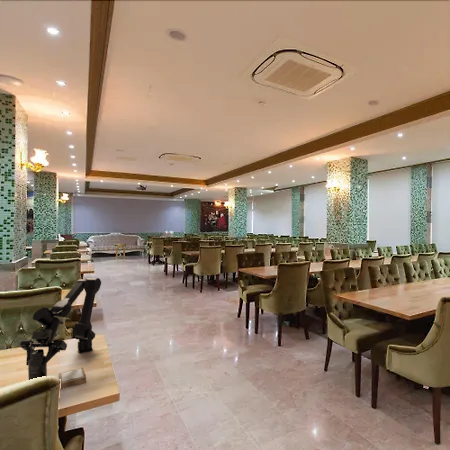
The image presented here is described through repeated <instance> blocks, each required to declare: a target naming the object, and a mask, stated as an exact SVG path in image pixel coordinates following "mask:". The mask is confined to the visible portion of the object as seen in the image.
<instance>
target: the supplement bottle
mask: <svg viewBox="0 0 450 450" xmlns="http://www.w3.org/2000/svg"><path fill="white" fill-rule="evenodd" d="M45 357H46V355H45V351H44V349H43V348H39V349H34V351H32V352H31V358H30V359H29V361H28V365H27V371H28V372H27V373H28V376H27V377H28V381H29V380H30V379H33V378H37V377H42V376H46V377H47V376H48V367H47V366H48V365H47V364H48V362H47V363H46V365H43V362H44V360H45Z"/></svg>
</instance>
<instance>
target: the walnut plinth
mask: <svg viewBox="0 0 450 450" xmlns="http://www.w3.org/2000/svg"><path fill="white" fill-rule="evenodd" d="M59 379H61V390H64V389H67V387H68V388H71V387H75V386H78V385H82V384H86V383H87V376H86V372H85V369H84V367H79V368H74V369H70V370H66V371H62V372H59V373H58V380H59ZM63 388H64V389H63Z"/></svg>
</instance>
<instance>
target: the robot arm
mask: <svg viewBox="0 0 450 450" xmlns="http://www.w3.org/2000/svg"><path fill="white" fill-rule="evenodd" d="M101 286H102V280H101V279H100V278H98V277H87V278H85V279H78V280H76V283H75V284H74V286H72V288H71V289H70V290H69V292H68V293H67V294H66V295H65V296H64V297H63V298H62V299H61V300H59V301H57V302H56V303H55V304H54V305H52V307H50V308H48V307H47V306H42V307H41V308H40V309H38V310H37V311H36V312H34V313H33V316H32V319H33V320H34V321H35V322H36V323H38V324H39V325H41V326H43V328H42V329H40V330H39V331H32V335H31V339H22V340H21V341H20V343H19V345H18V346H19V347H20V348H22V349H23V350H24V351H26V362H25V363H26V366H28V361H29V359H30V358H31V352H32V351H34V350H36V348H47V353H46V355H45V356H46V357H45V360H44V362H43V365H46V363H47V364H48V363H49V362H50V360H51V359H52V358H53V357H54V356H55V355H56V354H58V353H60V352H61V351H66V350H67V347H68V343H66V342H65V340H64V339H55V337H57V335H58V333H57V332H58V329H59V326H60V325H63V324H64V321H63V320H62V318H66V317H67V316H68V315H69V314H70V312H71V310H72V307H73V304H74V302H75V301H76V300H77V299H78V297H79V296H80V295H81V294H82V292H83V291H84V292H85V296H84V300H83V301H84V302H83V306H82V312H81V315H80V319H79V321H78V322H77V323H75V324H74V329H73V335H74V337H75V340H78V341H77V351H78V352H79V354H82V353H87V352H92V351H93V350H94V349H93V340H94V339H95V338H96V333H95V332H94V331H93V325H92V322H91V318H92V314H93V307H94V303H95V299H96V295H97V293H98V292H99V290H100V289H101ZM54 339H55V340H54ZM33 340H34V341H35V342H34V341H33Z"/></svg>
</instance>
